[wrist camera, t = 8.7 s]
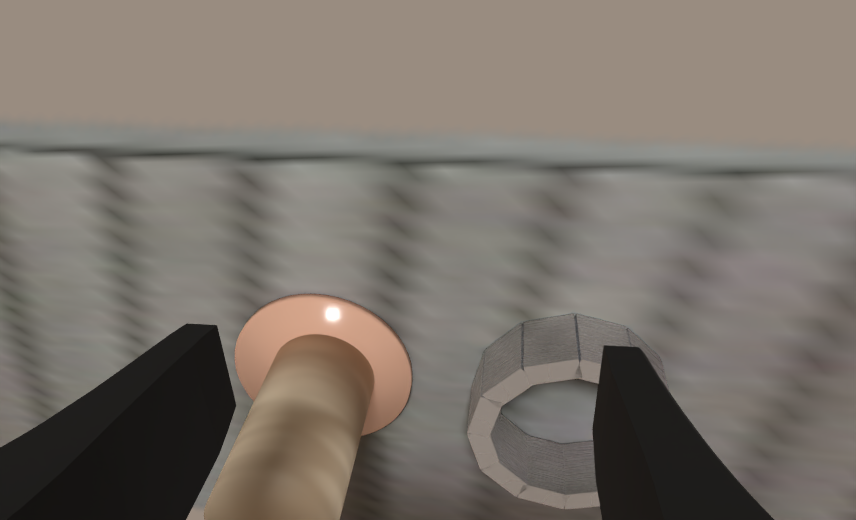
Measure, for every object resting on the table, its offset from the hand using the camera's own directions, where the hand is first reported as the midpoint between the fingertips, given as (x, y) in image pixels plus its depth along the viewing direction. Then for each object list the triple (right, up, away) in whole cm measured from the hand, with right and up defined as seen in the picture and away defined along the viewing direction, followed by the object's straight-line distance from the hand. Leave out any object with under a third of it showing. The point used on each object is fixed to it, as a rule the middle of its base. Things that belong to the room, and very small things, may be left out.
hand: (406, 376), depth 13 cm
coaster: (-4, -2, +14) cm, 15 cm away
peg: (-4, -2, +14) cm, 14 cm away
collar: (+6, -3, +13) cm, 15 cm away
